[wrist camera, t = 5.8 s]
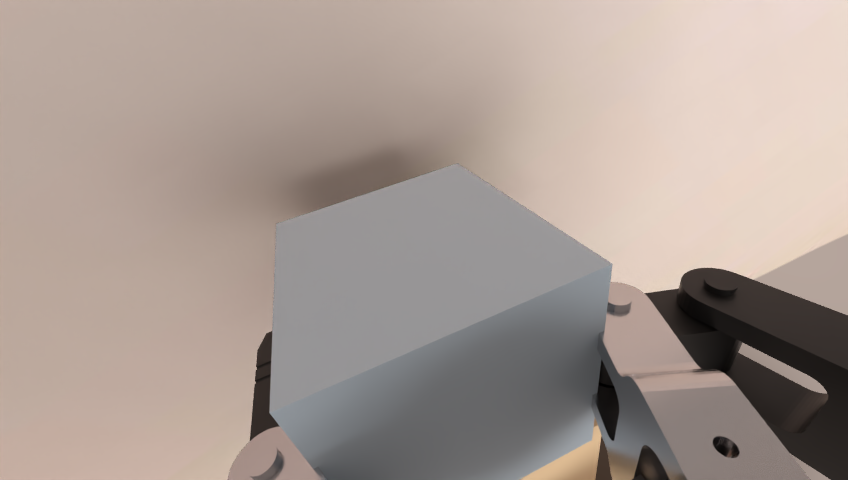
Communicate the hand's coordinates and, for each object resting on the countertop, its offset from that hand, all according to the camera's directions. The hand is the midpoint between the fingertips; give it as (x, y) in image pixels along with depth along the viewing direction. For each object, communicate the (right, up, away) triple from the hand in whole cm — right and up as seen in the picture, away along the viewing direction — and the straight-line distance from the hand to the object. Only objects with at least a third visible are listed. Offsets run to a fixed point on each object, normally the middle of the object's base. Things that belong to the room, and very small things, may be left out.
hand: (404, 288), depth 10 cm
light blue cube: (0, +1, +1) cm, 1 cm away
